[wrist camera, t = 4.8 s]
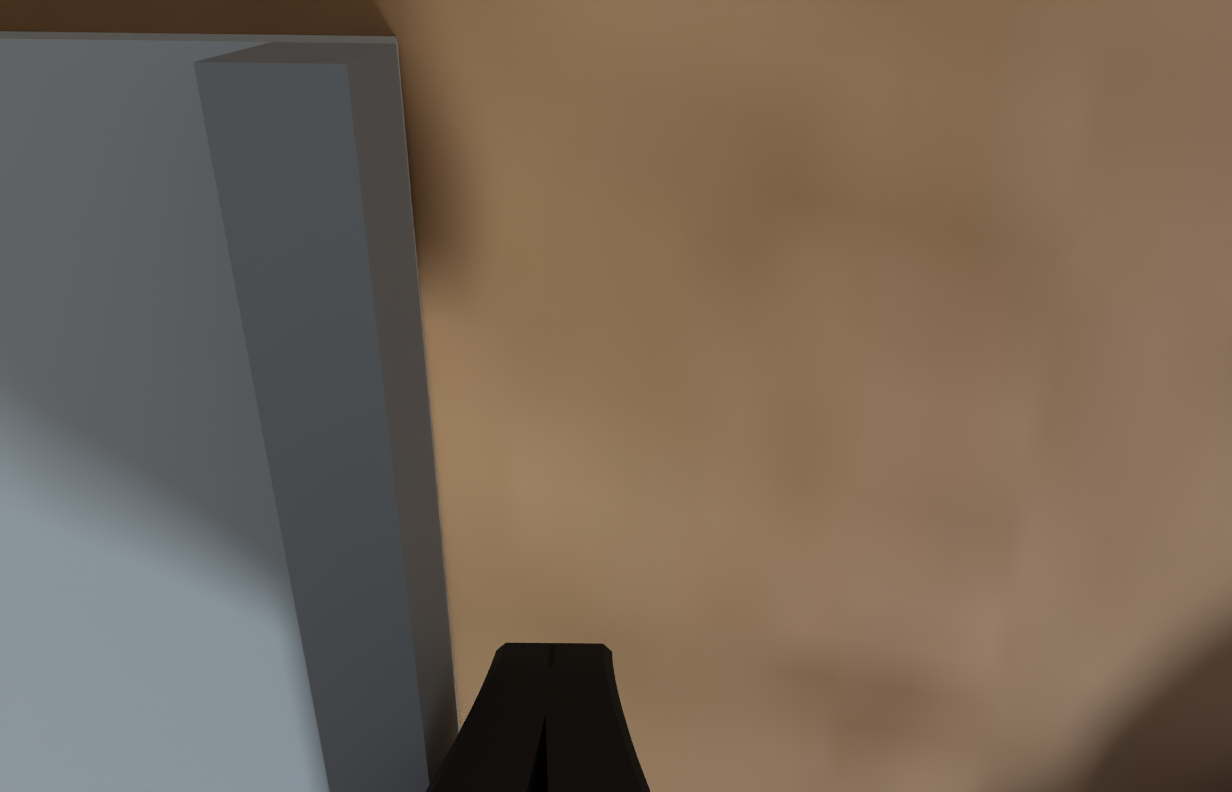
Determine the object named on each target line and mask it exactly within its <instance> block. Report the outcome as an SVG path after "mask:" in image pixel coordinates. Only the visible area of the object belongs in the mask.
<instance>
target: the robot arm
mask: <svg viewBox="0 0 1232 792" xmlns="http://www.w3.org/2000/svg"><path fill="white" fill-rule="evenodd" d="M426 792H650V789H649V787H648V784H647V782H646V779H645V776H644V774H643V771H642V768H641V766H640V763H639V760H638V758H637V755H636V752H635V749H634V746H633V743H632V740H631V737H630V734H629V730H628V727H627V724H626V720H625V717H624V714H623V710H622V706H621V702H620V699H619V695H618V690H617V686H616V681H615V675H614V669H613V661H612V651H611V650H609V649H608V648H607V647H606V646H605V645H604V644H584V643H505V644H504V645H503V646H501V647H500V648H499V649H498V650H496V653H495V656H494V659H493V661H492V664H491V667H490V669H489V671H488V674H487V676H486V678H485V681H484V683H483V685H482V687H481V690H480V692H479V694H478V696H477V698H476V700H475V702H474V704H473V706H472V708H471V710H470V712H469V714H468V716H467V718H466V720H465V722H464V724H463V726H462V728H461V730H460V732H459V734H458V735H457V737H456V739H455V741H454V743H453V744H452V746H451V748H450V750H449V751H448V753H447V755H446V757H445V758H444V760H443V762H442V764H441V765H440V767H439V769H438V771H437V772H436V774H435V776H434V778H433V779H432V781H431V783H430V785H429V787H428V788H427V790H426Z"/></svg>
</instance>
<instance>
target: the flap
mask: <svg viewBox="0 0 1232 792" xmlns="http://www.w3.org/2000/svg"><path fill="white" fill-rule="evenodd" d="M458 734H459V725H458V714H457V703H456V692H455V680H454V669H453V658H452V647H451V636H450V625H449V614H448V603H447V592H446V581H445V570H444V559H443V548H442V537H441V526H440V515H439V504H438V493H437V482H436V471H435V460H434V448H433V437H432V426H431V415H430V404H429V393H428V382H427V371H426V360H425V349H424V338H423V327H422V316H421V305H420V294H419V283H418V272H417V261H416V250H415V239H414V228H413V217H412V205H411V194H410V183H409V172H408V161H407V150H406V139H405V128H404V117H403V106H402V95H401V84H400V73H399V62H398V51H397V40H396V36H335V35H255V34H176V33H97V32H18V31H0V792H426V790H427V788H428V787H429V785H430V783H431V781H432V779H433V778H434V776H435V774H436V772H437V771H438V769H439V767H440V765H441V764H442V762H443V760H444V758H445V757H446V755H447V753H448V751H449V750H450V748H451V746H452V744H453V743H454V741H455V739H456V737H457V735H458Z"/></svg>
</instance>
